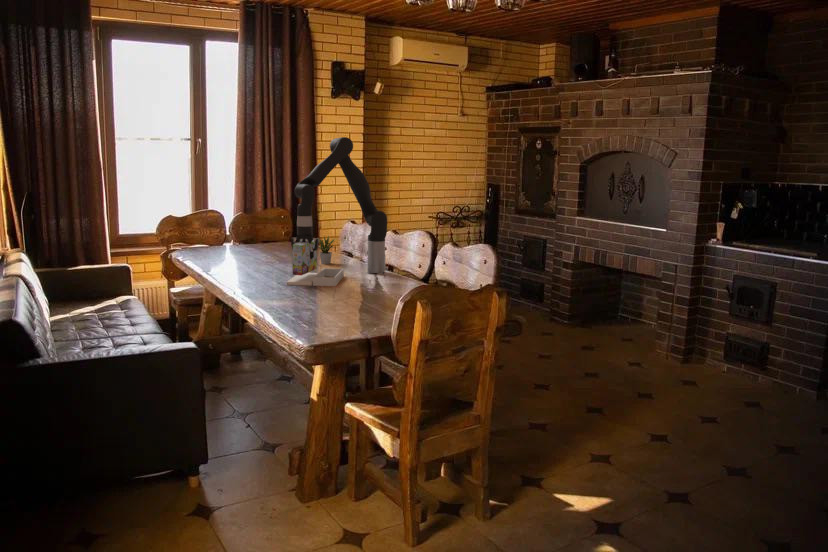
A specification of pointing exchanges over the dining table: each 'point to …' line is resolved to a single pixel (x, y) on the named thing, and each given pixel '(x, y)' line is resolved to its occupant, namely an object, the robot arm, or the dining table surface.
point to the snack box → (303, 258)
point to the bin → (324, 281)
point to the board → (302, 279)
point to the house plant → (325, 251)
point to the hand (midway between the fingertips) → (305, 258)
